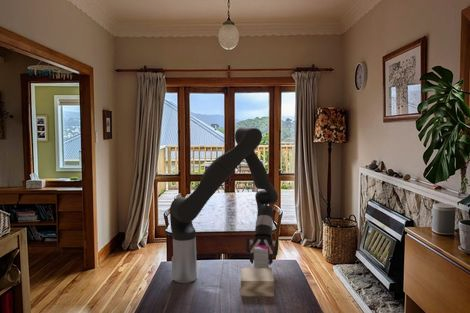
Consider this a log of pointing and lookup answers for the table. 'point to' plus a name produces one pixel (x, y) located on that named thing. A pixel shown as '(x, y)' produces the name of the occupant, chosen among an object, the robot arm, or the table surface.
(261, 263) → the supplement box
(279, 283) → the table surface
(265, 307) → the table surface
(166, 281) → the table surface
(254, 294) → the birch block
